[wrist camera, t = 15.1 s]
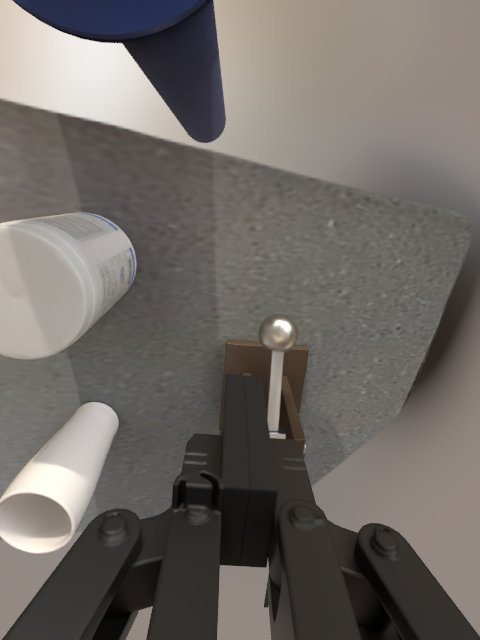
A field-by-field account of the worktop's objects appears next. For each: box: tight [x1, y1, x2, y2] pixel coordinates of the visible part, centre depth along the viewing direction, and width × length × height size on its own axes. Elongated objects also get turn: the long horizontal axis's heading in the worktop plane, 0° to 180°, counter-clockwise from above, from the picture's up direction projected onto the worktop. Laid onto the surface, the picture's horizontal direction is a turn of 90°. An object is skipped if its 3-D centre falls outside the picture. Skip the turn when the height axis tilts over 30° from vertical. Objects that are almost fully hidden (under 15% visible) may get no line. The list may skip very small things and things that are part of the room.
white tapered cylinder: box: [0, 402, 119, 554], centre depth 37 cm, size 7×7×15 cm
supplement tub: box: [0, 212, 137, 359], centre depth 31 cm, size 10×10×15 cm
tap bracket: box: [219, 340, 309, 457], centre depth 37 cm, size 11×9×13 cm
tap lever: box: [259, 314, 298, 439], centre depth 33 cm, size 13×4×4 cm, turn 175°
